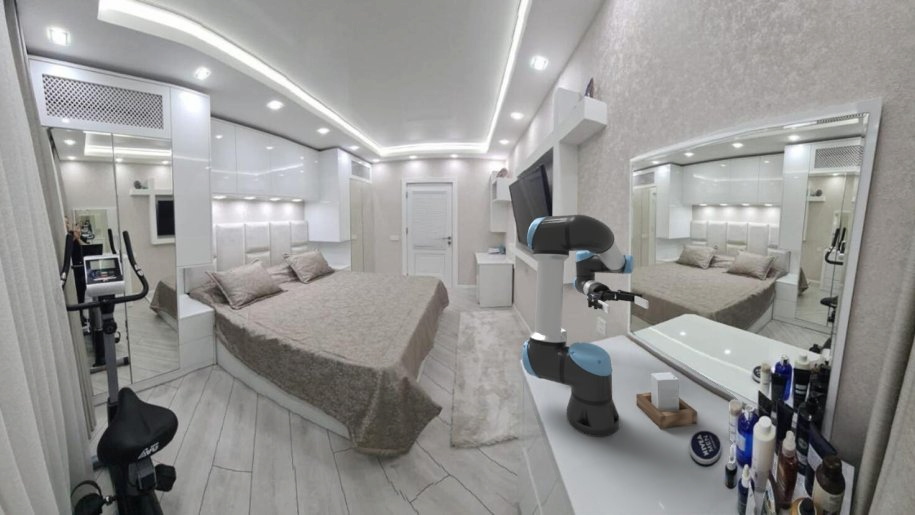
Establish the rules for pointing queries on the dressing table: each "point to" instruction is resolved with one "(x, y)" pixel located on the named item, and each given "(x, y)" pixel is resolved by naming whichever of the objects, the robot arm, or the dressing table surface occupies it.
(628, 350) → the dressing table surface
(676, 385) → the skincare box
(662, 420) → the walnut square tray
